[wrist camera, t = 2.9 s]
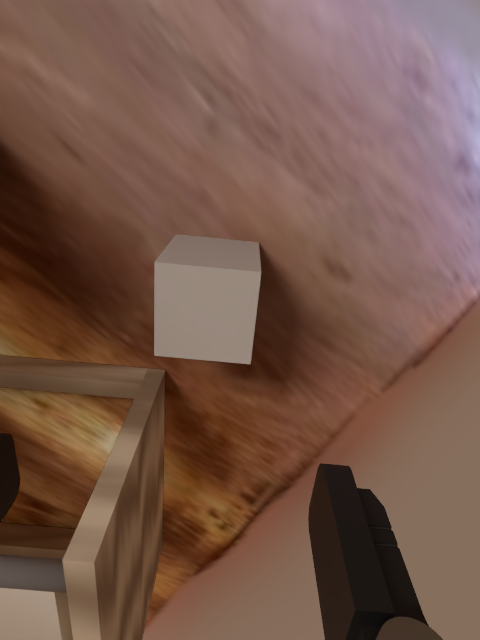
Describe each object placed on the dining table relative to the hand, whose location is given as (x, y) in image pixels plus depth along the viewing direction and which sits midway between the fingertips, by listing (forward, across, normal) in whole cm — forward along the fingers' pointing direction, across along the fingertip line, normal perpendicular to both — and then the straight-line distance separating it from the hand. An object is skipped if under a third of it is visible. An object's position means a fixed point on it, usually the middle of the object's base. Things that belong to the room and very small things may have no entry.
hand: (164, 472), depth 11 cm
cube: (+16, 0, 0) cm, 16 cm away
